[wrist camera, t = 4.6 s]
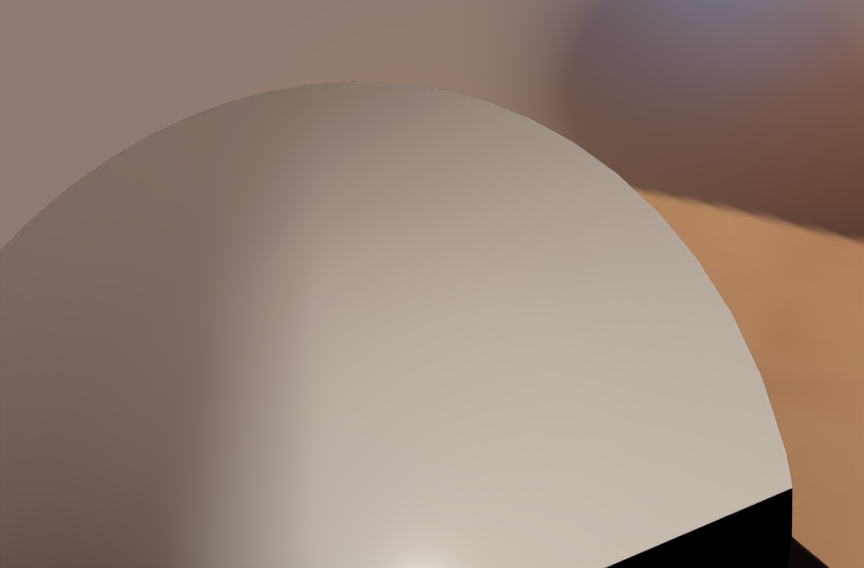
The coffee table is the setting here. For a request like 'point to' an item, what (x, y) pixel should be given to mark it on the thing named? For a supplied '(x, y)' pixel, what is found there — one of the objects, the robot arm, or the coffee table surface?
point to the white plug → (374, 355)
